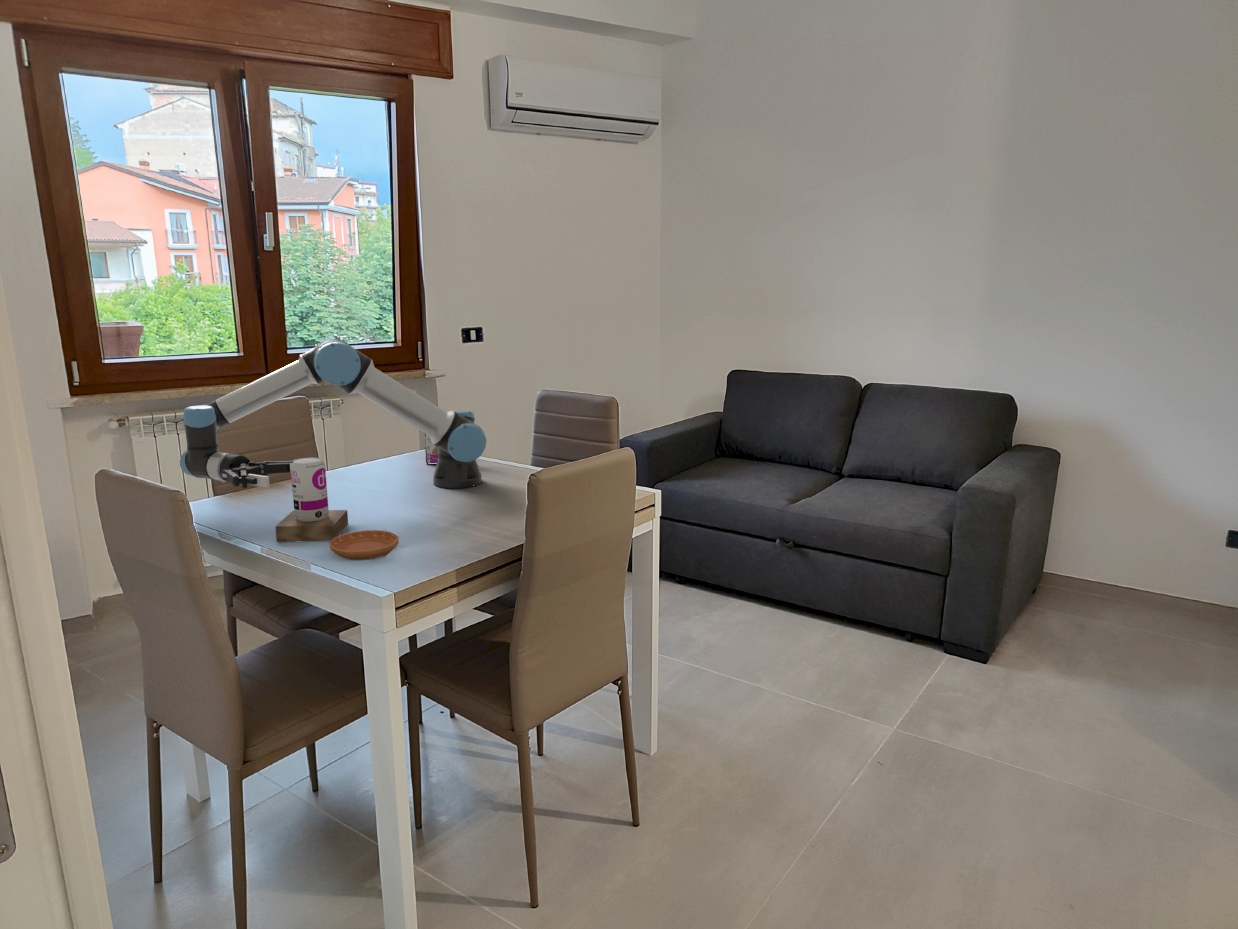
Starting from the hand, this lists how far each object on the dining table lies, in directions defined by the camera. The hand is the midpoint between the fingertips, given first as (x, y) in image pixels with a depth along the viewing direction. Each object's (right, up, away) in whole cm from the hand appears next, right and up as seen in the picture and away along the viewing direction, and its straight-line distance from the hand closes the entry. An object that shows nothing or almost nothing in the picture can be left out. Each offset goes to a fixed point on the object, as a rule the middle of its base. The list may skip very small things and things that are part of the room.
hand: (289, 476), depth 209 cm
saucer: (+23, -18, -12) cm, 32 cm away
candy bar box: (+22, +3, +79) cm, 83 cm away
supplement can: (+6, -11, 0) cm, 12 cm away
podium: (+6, -14, +1) cm, 16 cm away
